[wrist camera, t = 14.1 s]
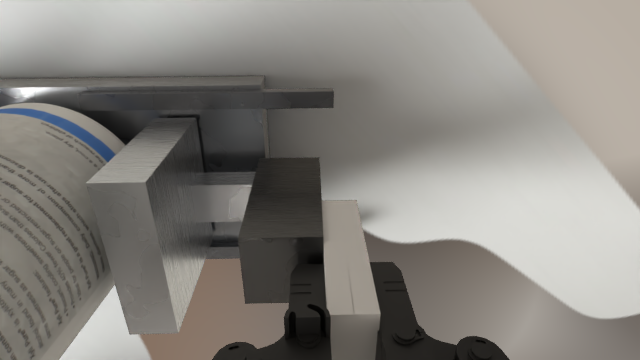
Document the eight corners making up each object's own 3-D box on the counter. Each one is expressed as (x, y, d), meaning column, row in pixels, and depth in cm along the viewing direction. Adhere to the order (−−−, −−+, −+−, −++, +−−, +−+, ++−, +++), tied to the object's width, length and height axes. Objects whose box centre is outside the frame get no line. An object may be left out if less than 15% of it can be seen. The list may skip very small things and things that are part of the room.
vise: (330, 234, 26) (339, 349, 18) (-47, 240, 26) (-208, 362, 18) (330, 74, 22) (343, 134, 14) (-125, 80, 21) (-388, 144, 13)
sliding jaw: (319, 234, 23) (323, 339, 17) (177, 237, 23) (124, 344, 17) (318, 116, 20) (323, 186, 14) (155, 118, 20) (78, 190, 13)
